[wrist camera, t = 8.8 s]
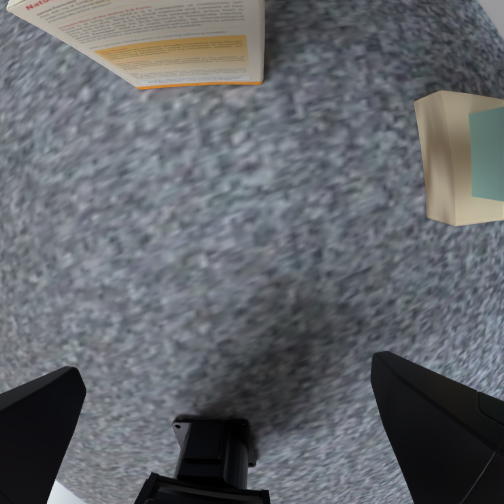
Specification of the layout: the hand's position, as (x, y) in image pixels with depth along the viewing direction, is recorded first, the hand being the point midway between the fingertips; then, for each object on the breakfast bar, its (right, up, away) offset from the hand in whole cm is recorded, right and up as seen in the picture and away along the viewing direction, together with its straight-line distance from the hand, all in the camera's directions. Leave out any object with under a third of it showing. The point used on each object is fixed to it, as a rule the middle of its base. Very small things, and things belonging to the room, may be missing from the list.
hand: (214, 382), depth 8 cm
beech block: (+16, +10, +10) cm, 22 cm away
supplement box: (-2, +16, +9) cm, 19 cm away
